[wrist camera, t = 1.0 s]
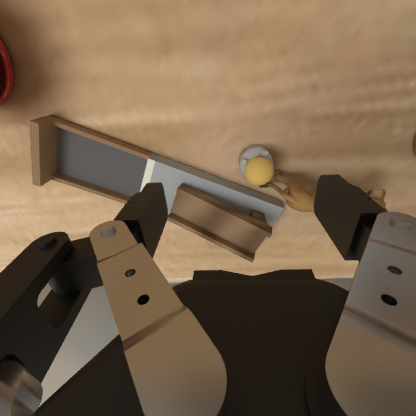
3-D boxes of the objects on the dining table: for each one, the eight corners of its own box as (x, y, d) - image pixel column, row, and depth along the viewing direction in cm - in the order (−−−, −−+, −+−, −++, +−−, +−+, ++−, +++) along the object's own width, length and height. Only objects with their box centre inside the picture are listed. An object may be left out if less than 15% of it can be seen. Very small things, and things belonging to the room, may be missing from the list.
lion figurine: (362, 168, 32) (408, 199, 24) (350, 200, 35) (388, 236, 27) (260, 168, 33) (273, 198, 25) (256, 200, 35) (267, 235, 28)
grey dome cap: (277, 150, 31) (282, 158, 28) (261, 179, 33) (264, 188, 31) (246, 138, 30) (249, 144, 28) (232, 168, 33) (233, 177, 30)
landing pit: (152, 152, 32) (144, 162, 28) (139, 202, 36) (131, 216, 33) (51, 114, 30) (29, 120, 26) (51, 172, 34) (32, 184, 31)
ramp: (267, 213, 34) (274, 235, 29) (250, 239, 37) (255, 263, 32) (179, 181, 31) (172, 200, 27) (168, 212, 34) (161, 233, 30)
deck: (280, 200, 35) (284, 208, 33) (254, 240, 40) (256, 249, 38) (152, 152, 32) (148, 158, 30) (139, 202, 36) (135, 210, 34)
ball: (275, 158, 29) (282, 169, 26) (262, 181, 31) (267, 194, 28) (250, 148, 28) (254, 158, 25) (238, 172, 30) (241, 184, 27)
